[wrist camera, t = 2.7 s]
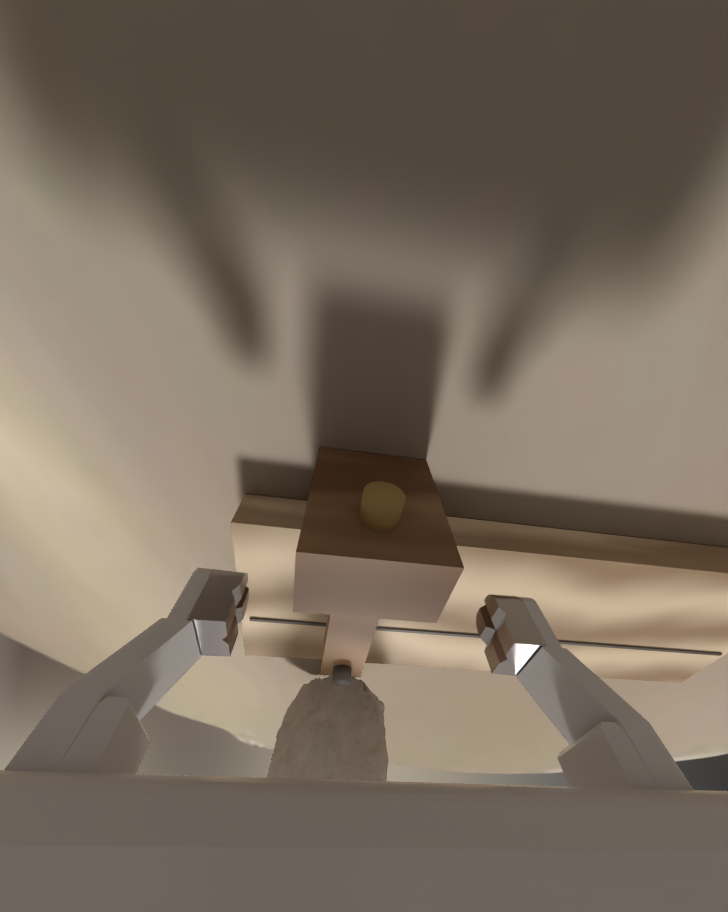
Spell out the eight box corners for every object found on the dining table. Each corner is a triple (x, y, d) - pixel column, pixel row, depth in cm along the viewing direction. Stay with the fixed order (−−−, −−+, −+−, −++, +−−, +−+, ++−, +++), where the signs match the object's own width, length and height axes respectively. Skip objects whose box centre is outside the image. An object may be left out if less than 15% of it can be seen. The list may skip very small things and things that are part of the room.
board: (245, 494, 15) (230, 524, 13) (791, 554, 18) (839, 586, 16) (254, 624, 21) (244, 656, 19) (657, 653, 24) (681, 684, 22)
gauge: (322, 427, 13) (296, 526, 8) (431, 441, 13) (476, 545, 8) (306, 598, 20) (287, 713, 14) (380, 604, 20) (387, 717, 15)
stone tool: (299, 689, 27) (244, 1067, 14) (276, 675, 25) (189, 1083, 13) (387, 661, 24) (417, 1094, 11) (366, 644, 23) (374, 1117, 10)
